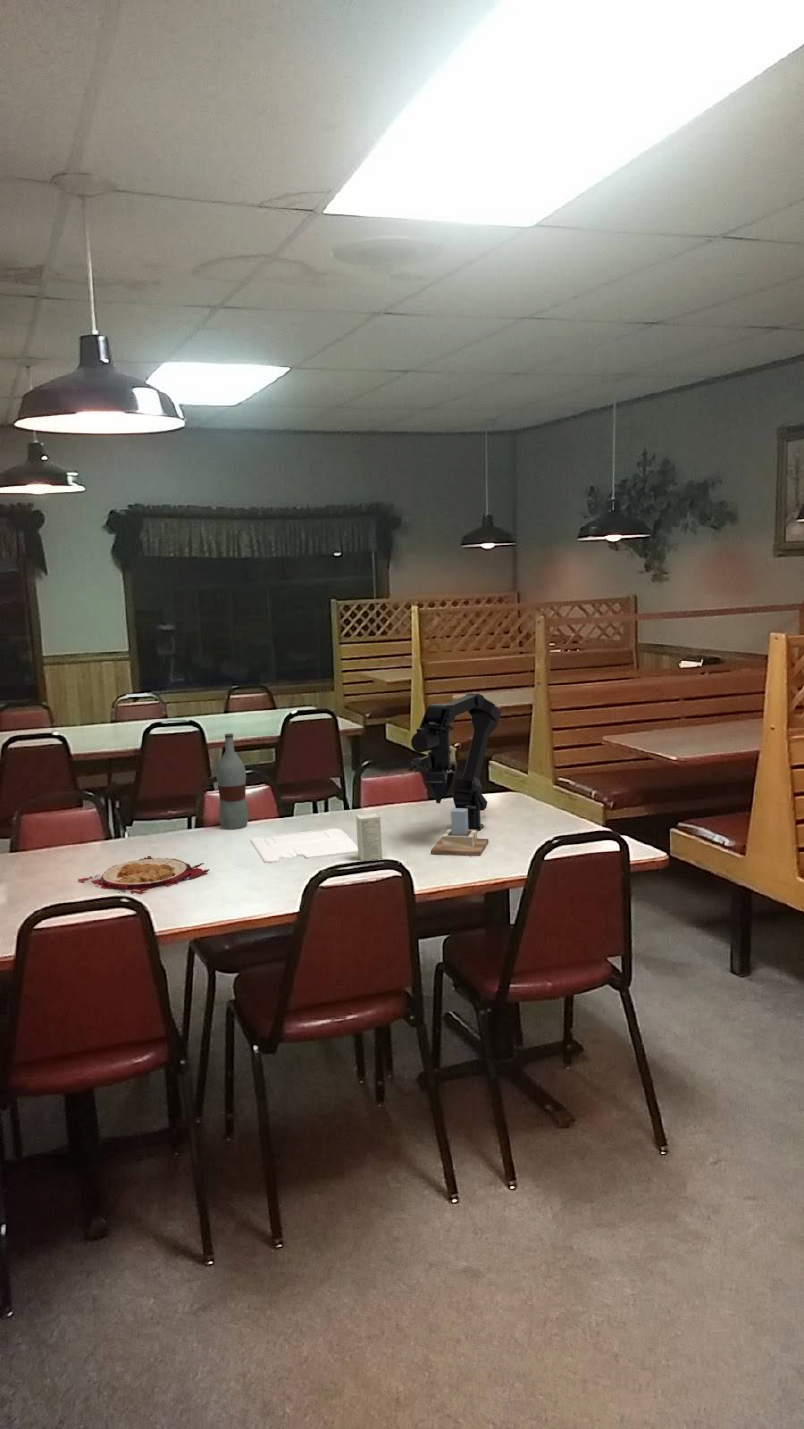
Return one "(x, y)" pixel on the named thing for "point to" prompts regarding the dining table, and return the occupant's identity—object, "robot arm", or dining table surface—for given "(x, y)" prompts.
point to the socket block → (460, 844)
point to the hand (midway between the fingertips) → (441, 799)
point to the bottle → (232, 788)
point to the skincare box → (369, 836)
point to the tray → (304, 845)
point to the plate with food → (146, 874)
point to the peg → (459, 822)
